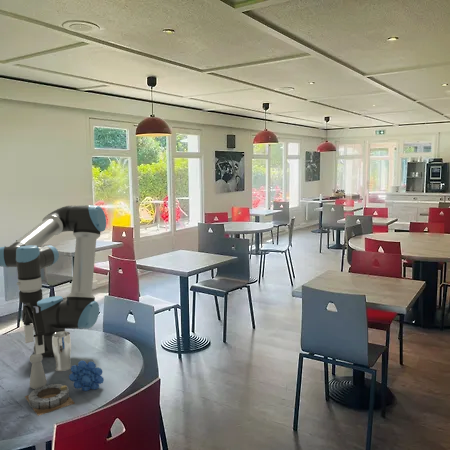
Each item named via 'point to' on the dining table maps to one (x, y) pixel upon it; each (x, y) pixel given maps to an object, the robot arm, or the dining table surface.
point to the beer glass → (62, 350)
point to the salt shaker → (37, 372)
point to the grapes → (86, 375)
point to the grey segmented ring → (48, 403)
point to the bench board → (40, 412)
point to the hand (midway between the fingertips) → (34, 347)
